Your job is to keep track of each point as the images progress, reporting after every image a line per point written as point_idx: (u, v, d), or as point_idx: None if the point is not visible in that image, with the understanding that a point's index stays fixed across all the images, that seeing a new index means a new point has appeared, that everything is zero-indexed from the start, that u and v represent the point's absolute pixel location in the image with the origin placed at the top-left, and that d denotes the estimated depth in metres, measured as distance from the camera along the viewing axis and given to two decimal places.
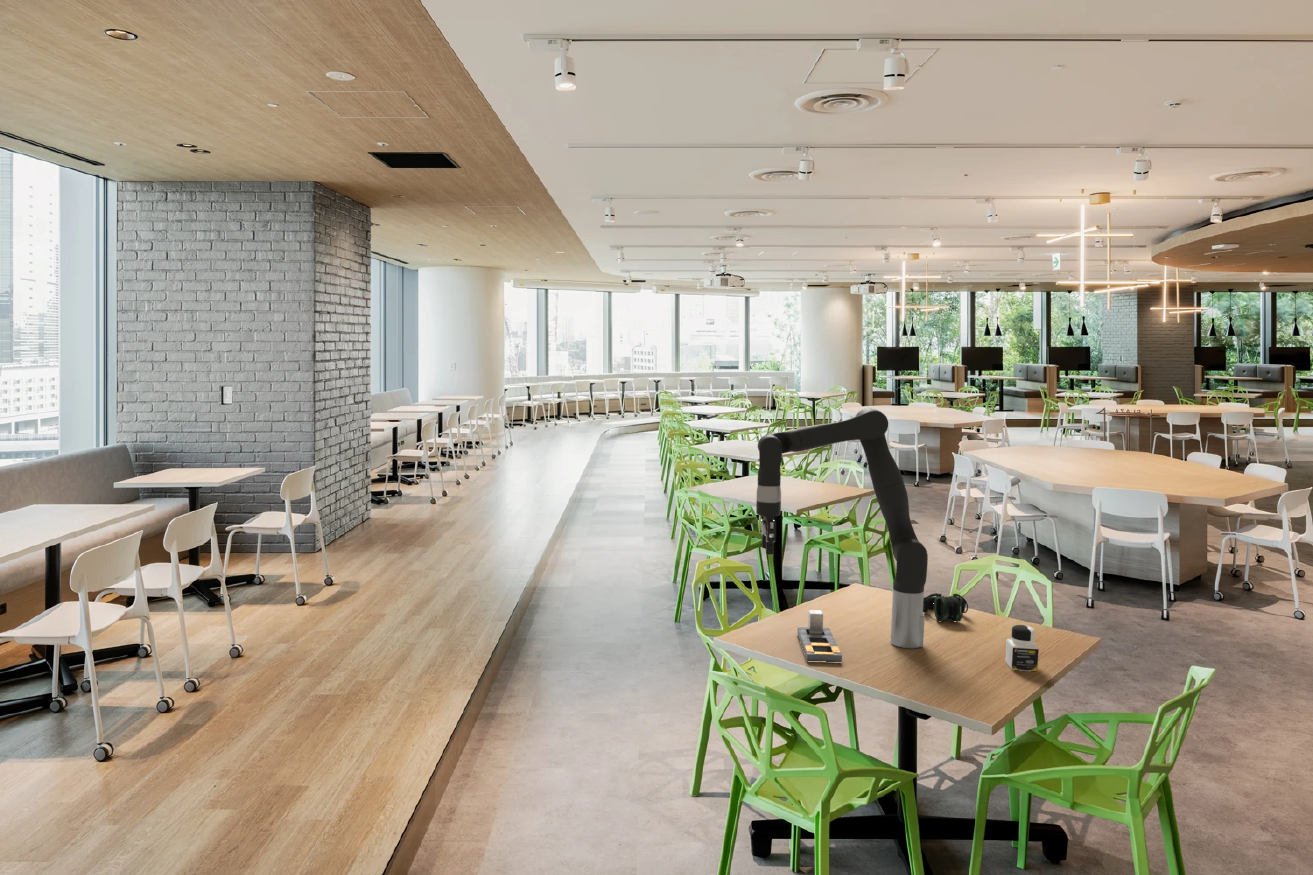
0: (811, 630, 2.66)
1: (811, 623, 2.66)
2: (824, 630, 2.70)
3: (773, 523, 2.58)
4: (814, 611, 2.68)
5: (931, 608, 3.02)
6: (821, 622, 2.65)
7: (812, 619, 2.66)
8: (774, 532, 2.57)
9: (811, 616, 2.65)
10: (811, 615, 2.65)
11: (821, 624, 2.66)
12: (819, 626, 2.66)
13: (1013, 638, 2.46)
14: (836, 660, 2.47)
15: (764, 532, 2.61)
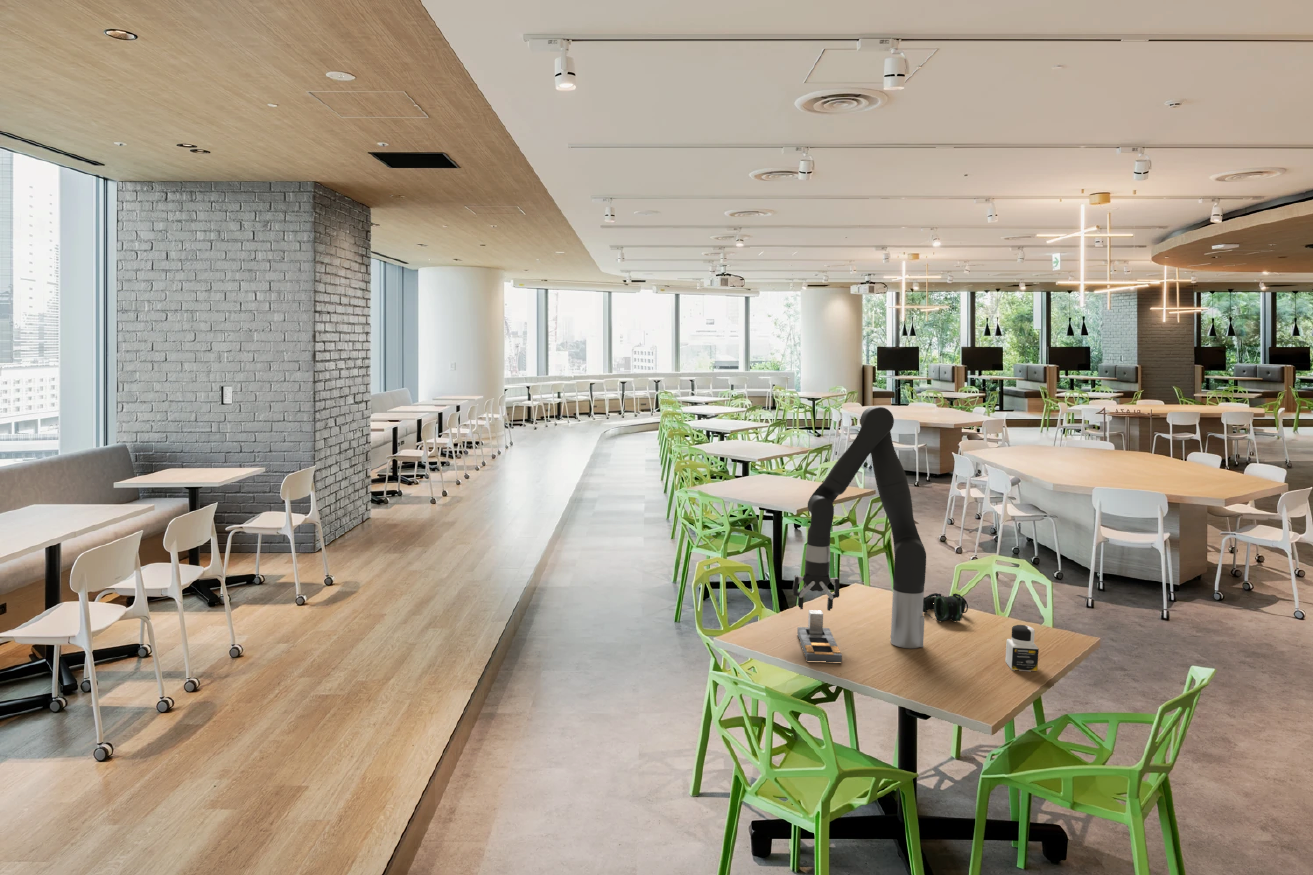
0: (811, 630, 2.66)
1: (811, 623, 2.66)
2: (824, 630, 2.70)
3: (837, 578, 2.67)
4: (814, 611, 2.68)
5: (931, 608, 3.02)
6: (821, 622, 2.65)
7: (812, 619, 2.66)
8: None
9: (811, 616, 2.65)
10: (811, 615, 2.65)
11: (821, 624, 2.65)
12: (819, 627, 2.66)
13: (1013, 638, 2.46)
14: (836, 660, 2.47)
15: (828, 590, 2.65)
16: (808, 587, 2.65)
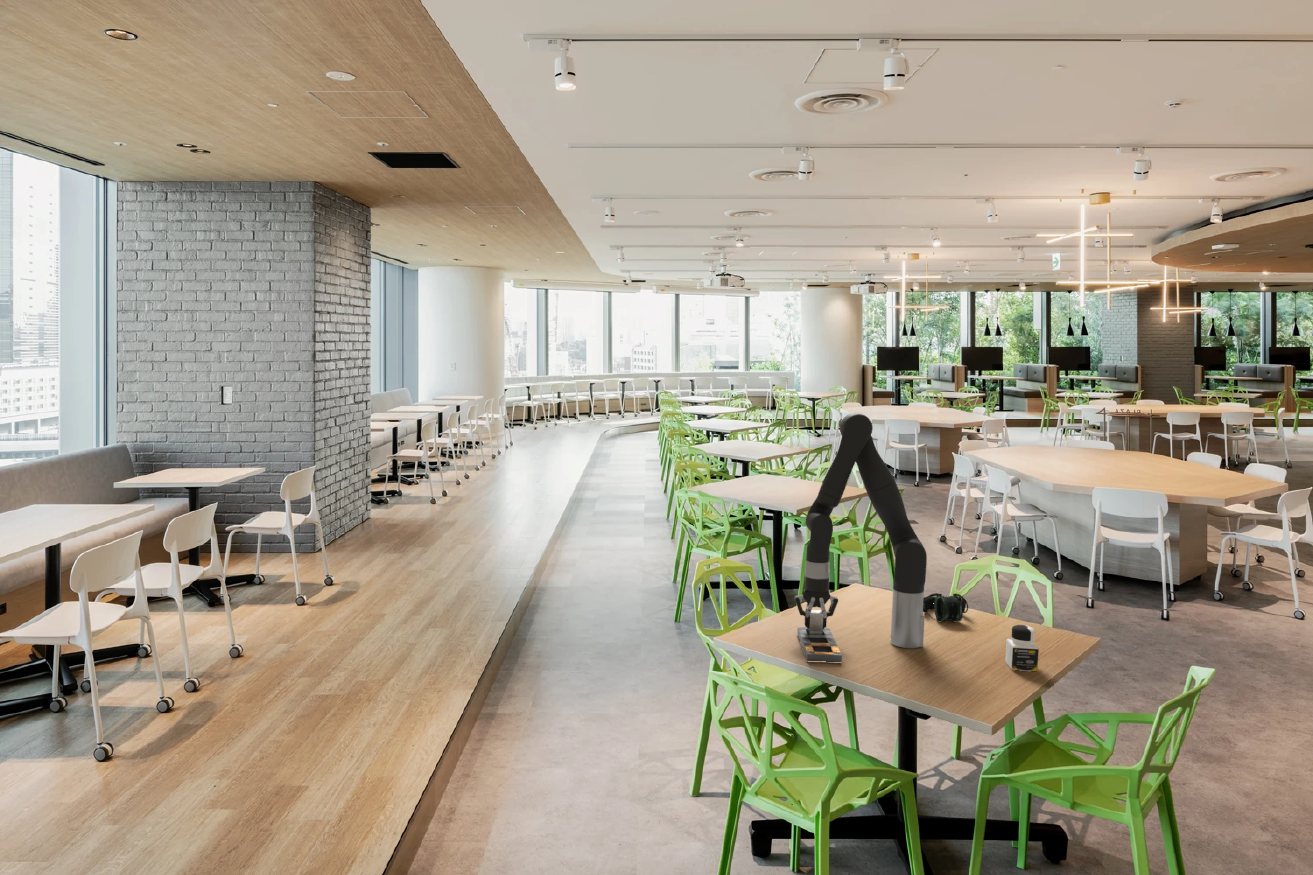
0: (811, 630, 2.66)
1: (811, 623, 2.66)
2: (824, 630, 2.70)
3: (836, 598, 2.67)
4: (814, 611, 2.68)
5: (931, 608, 3.02)
6: (821, 622, 2.65)
7: (812, 619, 2.66)
8: None
9: (811, 616, 2.65)
10: (811, 615, 2.65)
11: (821, 624, 2.65)
12: (819, 626, 2.66)
13: (1013, 638, 2.46)
14: (836, 660, 2.47)
15: (824, 608, 2.65)
16: (810, 605, 2.65)
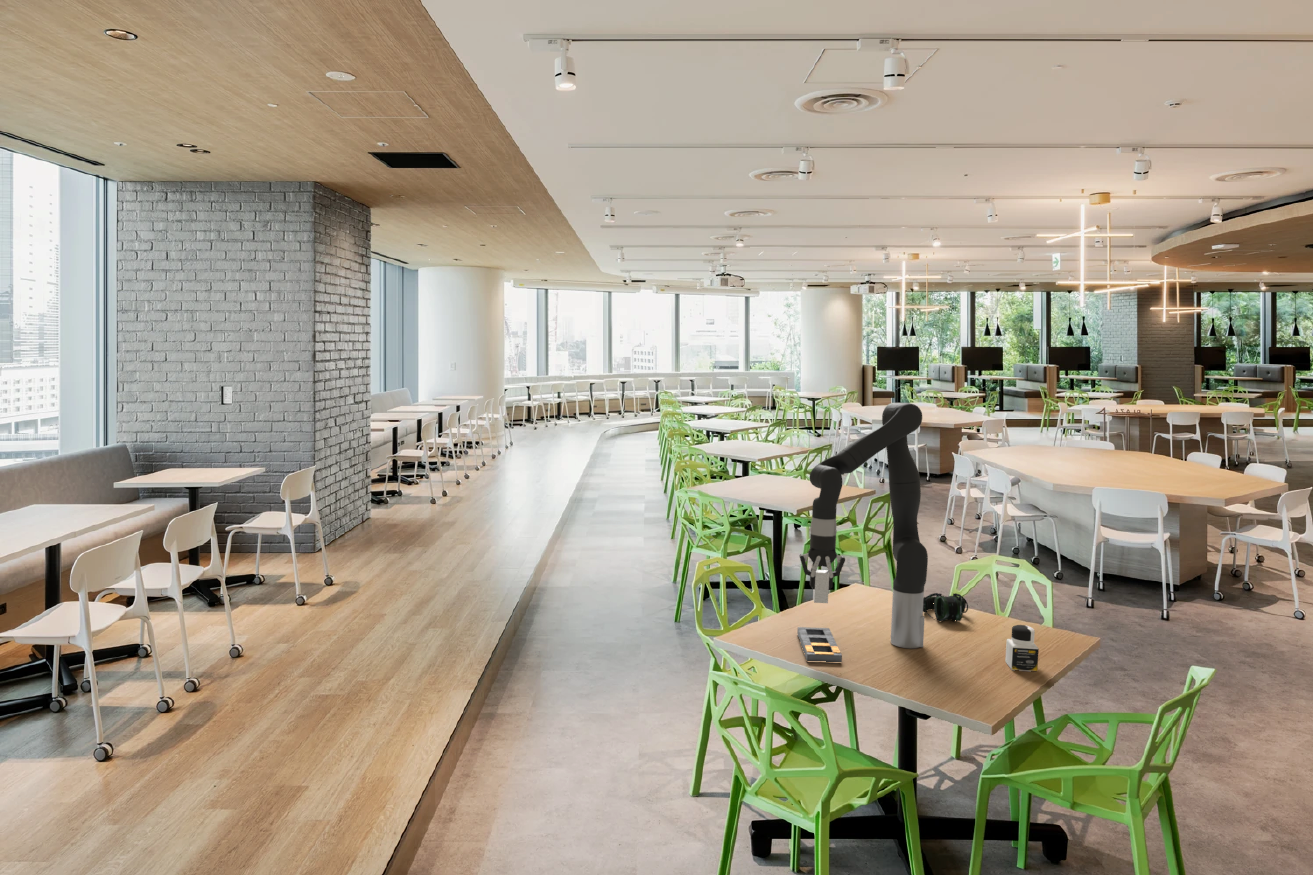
0: (816, 590, 2.53)
1: (816, 583, 2.53)
2: (824, 630, 2.70)
3: (844, 557, 2.54)
4: (820, 571, 2.55)
5: (931, 608, 3.02)
6: (827, 582, 2.53)
7: (817, 579, 2.53)
8: None
9: (816, 576, 2.53)
10: (816, 574, 2.53)
11: (827, 584, 2.53)
12: (825, 587, 2.53)
13: (1013, 638, 2.46)
14: (836, 660, 2.47)
15: (830, 568, 2.53)
16: (816, 564, 2.53)
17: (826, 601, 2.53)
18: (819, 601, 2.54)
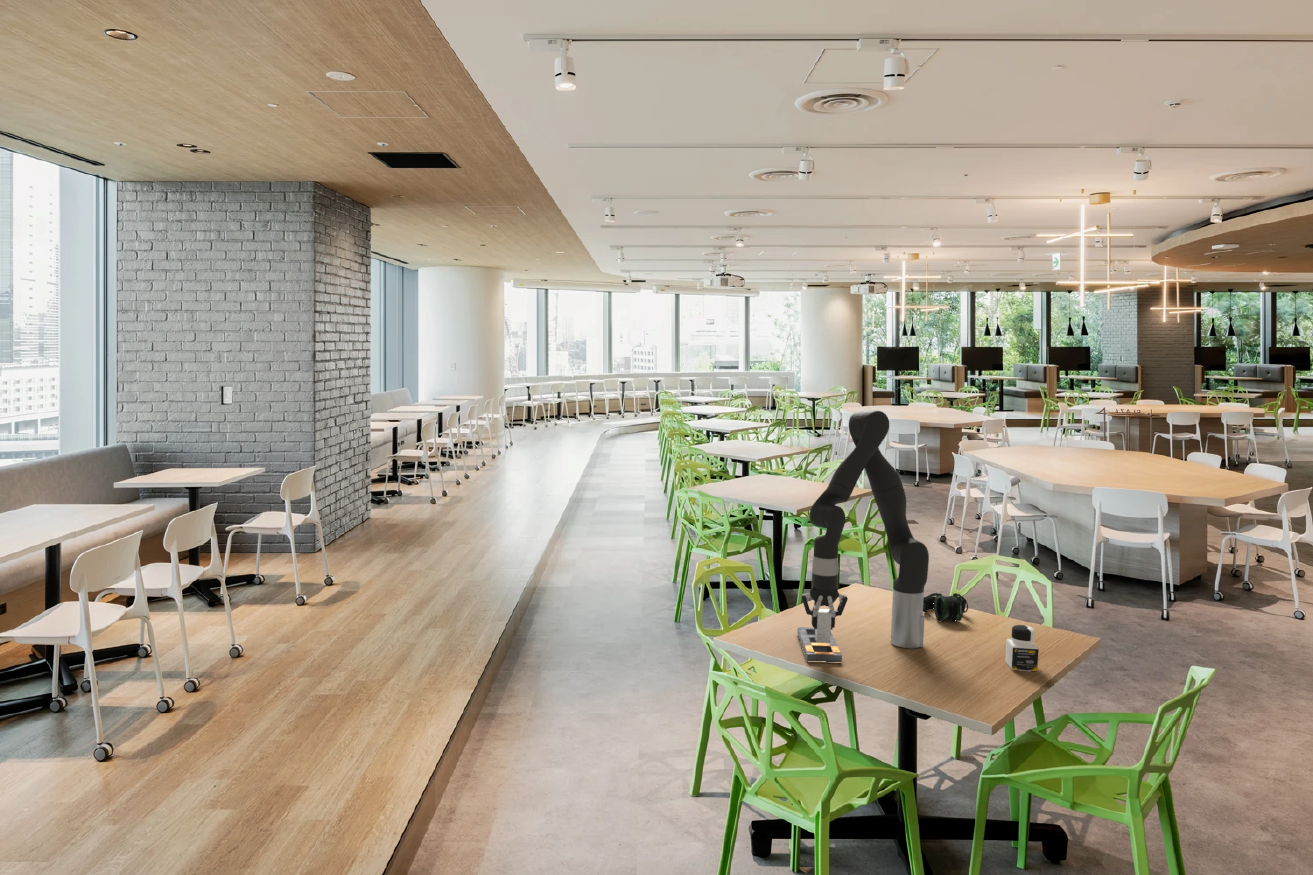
0: (818, 630, 2.50)
1: (818, 623, 2.49)
2: None
3: (846, 596, 2.51)
4: (822, 610, 2.51)
5: (931, 608, 3.02)
6: (829, 622, 2.49)
7: (820, 619, 2.49)
8: None
9: (819, 615, 2.49)
10: (819, 614, 2.49)
11: (829, 624, 2.49)
12: (827, 627, 2.49)
13: (1013, 638, 2.46)
14: (836, 660, 2.47)
15: (833, 607, 2.49)
16: (818, 603, 2.49)
17: (828, 641, 2.50)
18: (821, 641, 2.50)
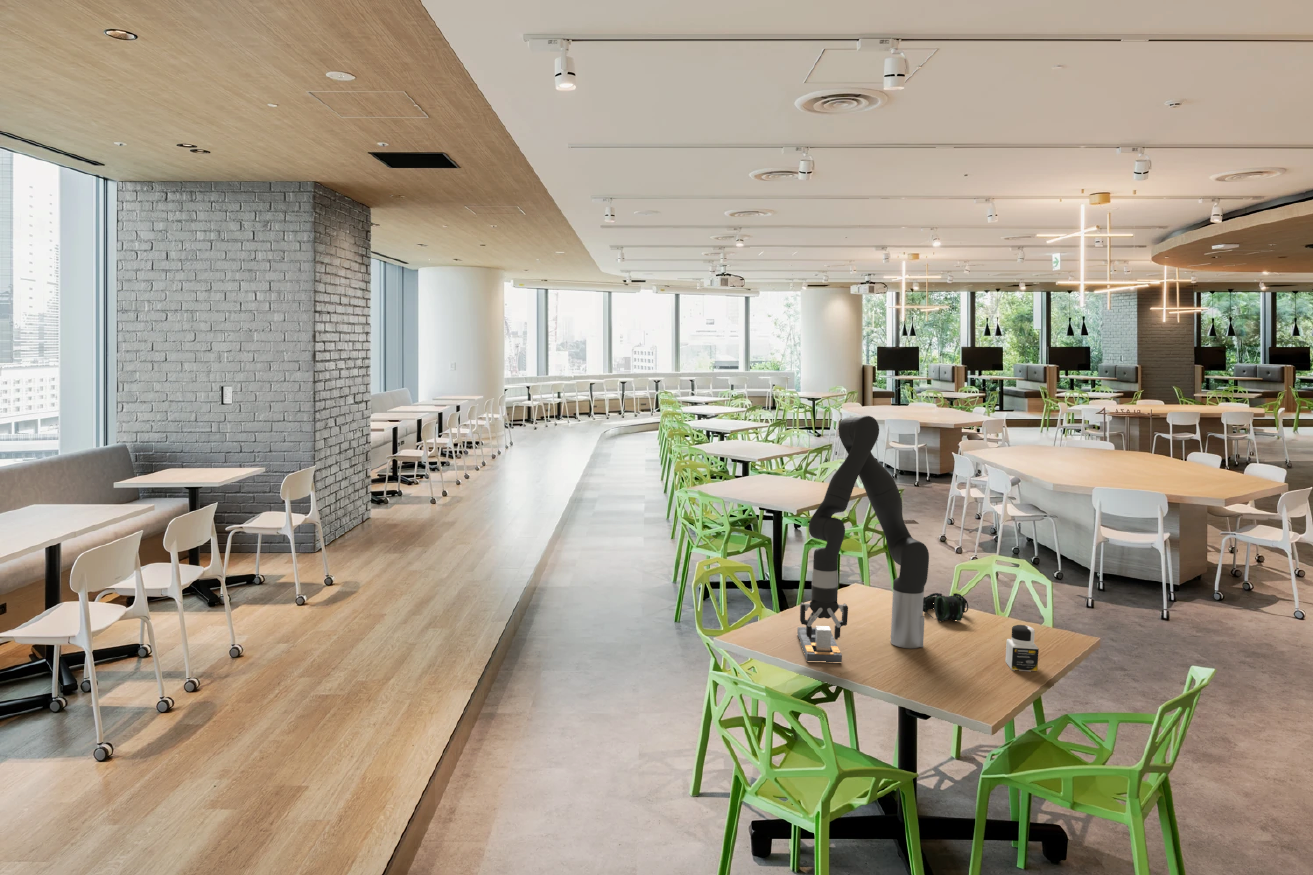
0: (818, 647, 2.50)
1: (818, 640, 2.50)
2: None
3: (846, 605, 2.51)
4: (822, 627, 2.52)
5: (931, 608, 3.02)
6: (829, 639, 2.50)
7: (819, 636, 2.50)
8: None
9: (818, 632, 2.50)
10: (818, 631, 2.50)
11: (829, 641, 2.50)
12: (827, 644, 2.50)
13: (1013, 638, 2.46)
14: (836, 660, 2.47)
15: (835, 618, 2.49)
16: (816, 615, 2.49)
17: None
18: None
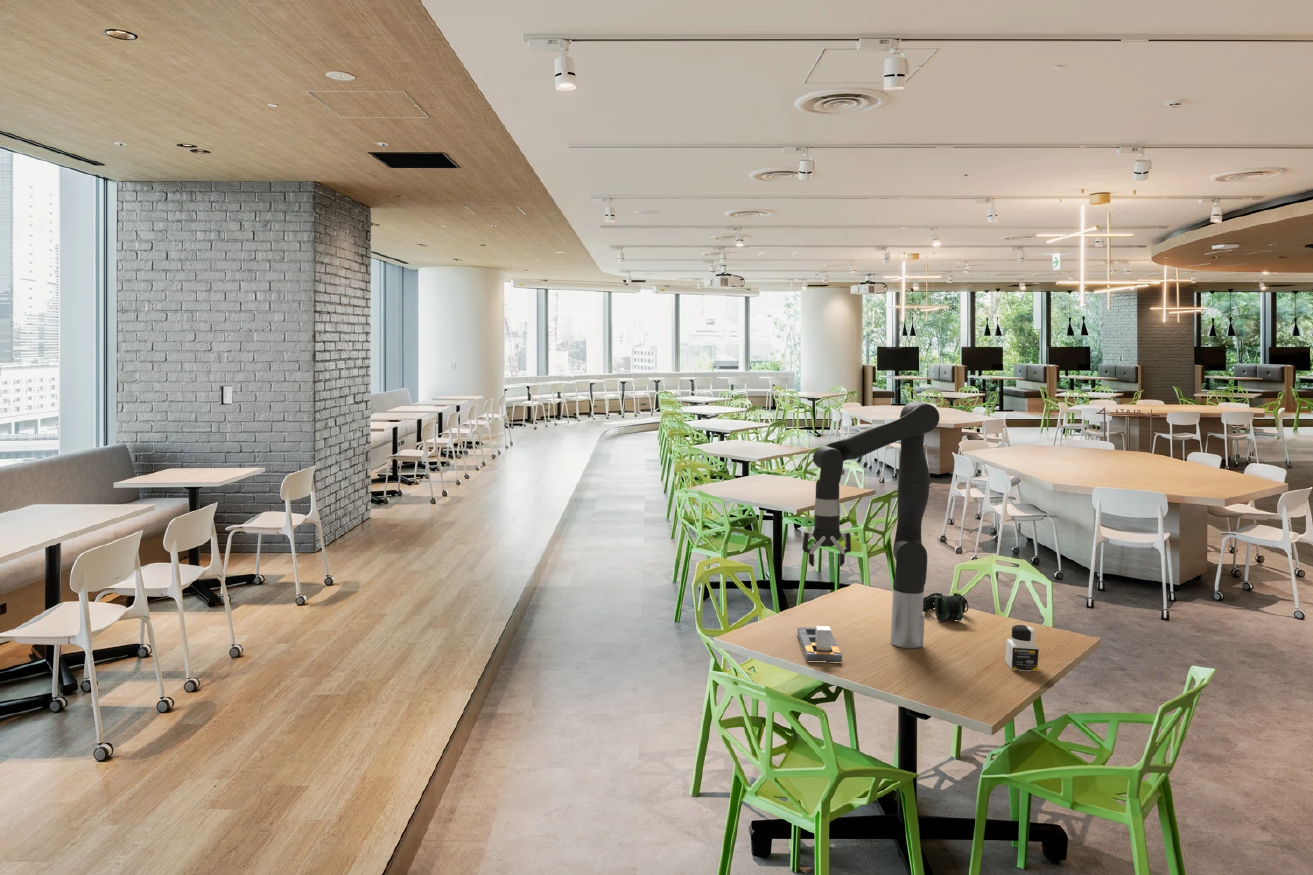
0: (818, 647, 2.50)
1: (818, 640, 2.50)
2: None
3: None
4: (822, 627, 2.52)
5: (931, 608, 3.02)
6: (829, 639, 2.50)
7: (819, 636, 2.50)
8: None
9: (818, 632, 2.50)
10: (818, 631, 2.50)
11: (829, 641, 2.50)
12: (827, 644, 2.50)
13: (1013, 638, 2.46)
14: (836, 660, 2.47)
15: (839, 545, 2.56)
16: (819, 543, 2.56)
17: None
18: None
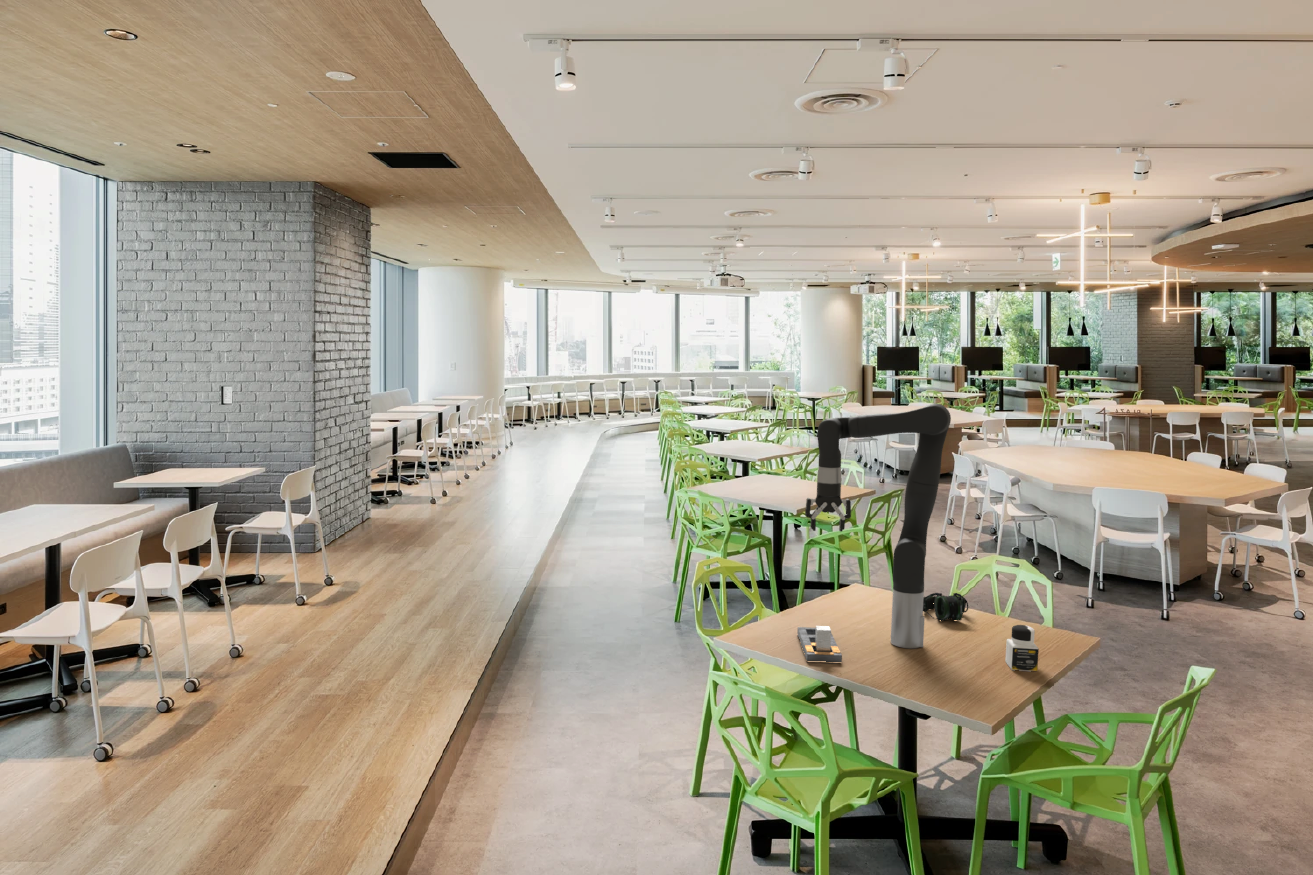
0: (818, 647, 2.50)
1: (818, 640, 2.50)
2: None
3: (848, 499, 2.73)
4: (822, 627, 2.52)
5: (931, 607, 3.02)
6: (829, 639, 2.50)
7: (819, 636, 2.50)
8: None
9: (818, 632, 2.50)
10: (818, 631, 2.50)
11: (829, 641, 2.50)
12: (827, 644, 2.50)
13: (1013, 638, 2.46)
14: (836, 660, 2.47)
15: (840, 511, 2.71)
16: (820, 508, 2.71)
17: None
18: None
